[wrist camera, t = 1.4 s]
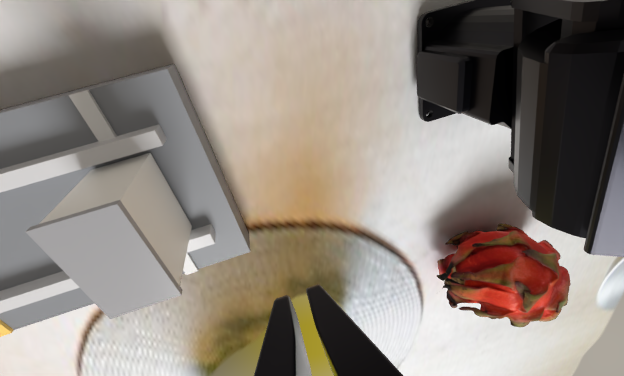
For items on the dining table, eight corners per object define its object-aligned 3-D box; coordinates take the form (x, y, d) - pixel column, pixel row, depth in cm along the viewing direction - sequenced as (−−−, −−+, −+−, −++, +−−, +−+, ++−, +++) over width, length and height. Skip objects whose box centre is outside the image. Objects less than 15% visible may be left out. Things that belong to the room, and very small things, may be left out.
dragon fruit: (507, 244, 32) (406, 232, 30) (587, 217, 25) (461, 199, 23) (529, 329, 28) (416, 322, 26) (632, 328, 21) (485, 318, 19)
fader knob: (151, 150, 15) (117, 204, 11) (194, 226, 18) (181, 294, 13) (87, 168, 15) (25, 231, 10) (141, 243, 17) (110, 318, 13)
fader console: (174, 63, 15) (162, 71, 13) (248, 233, 22) (251, 261, 19) (-304, 190, 13) (-429, 229, 11) (-68, 336, 20) (-113, 383, 17)
